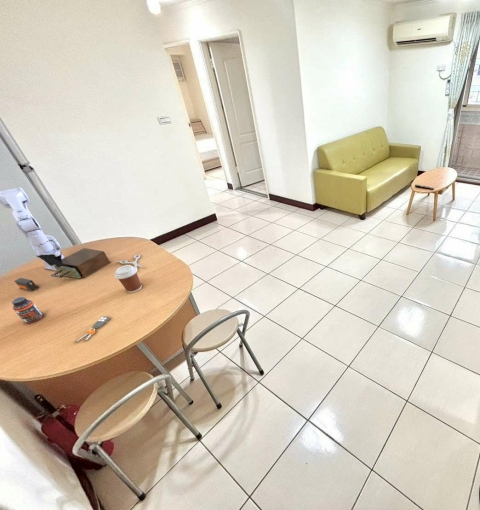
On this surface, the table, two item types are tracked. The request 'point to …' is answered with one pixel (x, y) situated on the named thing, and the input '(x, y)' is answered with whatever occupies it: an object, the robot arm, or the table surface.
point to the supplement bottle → (26, 310)
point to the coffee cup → (128, 278)
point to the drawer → (67, 271)
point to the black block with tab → (26, 284)
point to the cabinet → (87, 261)
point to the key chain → (96, 326)
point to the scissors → (132, 262)
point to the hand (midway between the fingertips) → (56, 265)
